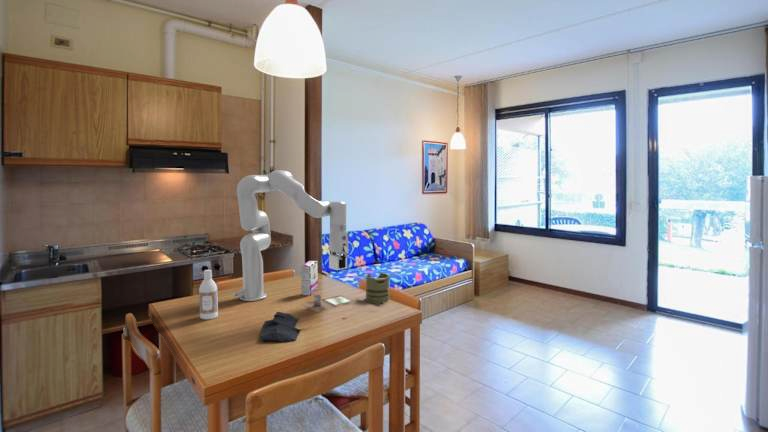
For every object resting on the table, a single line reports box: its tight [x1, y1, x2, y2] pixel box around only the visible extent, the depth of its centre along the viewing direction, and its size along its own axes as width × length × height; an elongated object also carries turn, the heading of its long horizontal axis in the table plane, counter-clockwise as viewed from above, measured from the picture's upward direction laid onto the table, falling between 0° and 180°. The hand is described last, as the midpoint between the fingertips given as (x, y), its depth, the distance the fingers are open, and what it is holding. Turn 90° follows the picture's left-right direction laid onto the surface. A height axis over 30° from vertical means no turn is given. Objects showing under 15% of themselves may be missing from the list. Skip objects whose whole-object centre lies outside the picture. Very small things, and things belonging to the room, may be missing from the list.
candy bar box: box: [300, 260, 319, 296], centre depth 196 cm, size 11×5×16 cm, turn 170°
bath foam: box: [198, 269, 219, 321], centre depth 162 cm, size 7×7×20 cm
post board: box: [300, 293, 357, 313], centre depth 179 cm, size 22×14×6 cm, turn 130°
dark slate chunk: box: [259, 311, 301, 343], centre depth 149 cm, size 15×22×5 cm
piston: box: [365, 272, 390, 304], centre depth 189 cm, size 11×12×11 cm
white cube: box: [328, 253, 348, 271], centre depth 181 cm, size 6×6×6 cm
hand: (338, 266), depth 181 cm, fingers closed on white cube, 6 cm apart
